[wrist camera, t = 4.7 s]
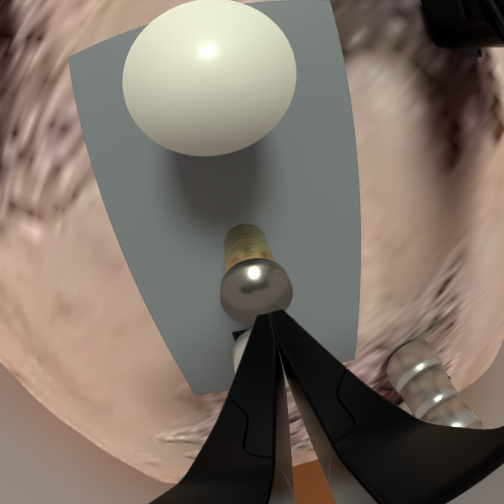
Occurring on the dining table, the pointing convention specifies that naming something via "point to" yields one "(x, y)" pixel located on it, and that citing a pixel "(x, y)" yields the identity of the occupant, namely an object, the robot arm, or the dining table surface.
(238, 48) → the knob
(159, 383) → the dining table surface
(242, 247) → the metal screw
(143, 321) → the dining table surface
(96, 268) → the dining table surface
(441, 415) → the plastic bottle
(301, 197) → the mount
